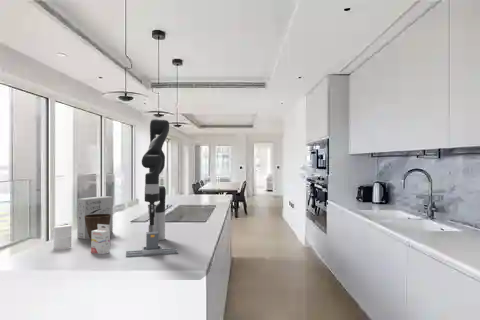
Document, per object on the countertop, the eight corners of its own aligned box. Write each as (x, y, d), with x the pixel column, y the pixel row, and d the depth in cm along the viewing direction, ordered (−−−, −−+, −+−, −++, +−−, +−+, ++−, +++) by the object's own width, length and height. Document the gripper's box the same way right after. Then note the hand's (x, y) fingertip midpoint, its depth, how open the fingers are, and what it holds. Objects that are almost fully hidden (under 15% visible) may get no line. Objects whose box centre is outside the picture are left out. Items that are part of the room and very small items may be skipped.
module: (157, 250, 189) (157, 231, 189) (158, 252, 184) (158, 233, 184) (146, 251, 187) (146, 232, 187) (146, 253, 182) (146, 234, 182)
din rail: (175, 249, 194) (175, 244, 194) (177, 253, 185) (177, 248, 185) (126, 252, 186) (126, 247, 186) (125, 257, 178) (126, 251, 178)
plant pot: (78, 242, 210) (78, 216, 210) (99, 238, 223) (99, 213, 223) (96, 245, 203) (96, 217, 203) (116, 240, 216) (116, 214, 216)
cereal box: (84, 239, 220) (85, 199, 220) (77, 237, 224) (77, 198, 224) (112, 233, 239) (113, 196, 239) (105, 232, 243) (105, 196, 243)
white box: (68, 244, 205) (68, 224, 205) (73, 247, 198) (73, 226, 198) (51, 247, 198) (51, 226, 199) (56, 250, 192) (56, 228, 192)
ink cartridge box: (90, 253, 186) (90, 225, 186) (97, 250, 191) (97, 223, 191) (103, 254, 183) (103, 226, 184) (110, 252, 188) (110, 224, 188)
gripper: (144, 191, 191) (144, 223, 191) (144, 193, 179) (144, 227, 179) (158, 191, 193) (158, 222, 193) (160, 193, 181) (159, 227, 181)
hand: (151, 225), depth 186 cm, fingers closed
